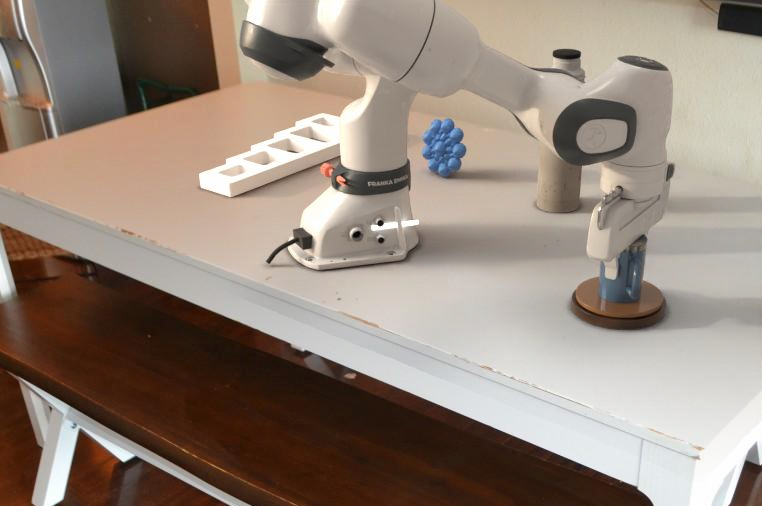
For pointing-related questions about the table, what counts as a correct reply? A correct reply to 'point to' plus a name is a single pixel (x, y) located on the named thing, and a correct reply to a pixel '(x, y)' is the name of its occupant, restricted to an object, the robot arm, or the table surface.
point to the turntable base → (615, 321)
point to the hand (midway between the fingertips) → (623, 267)
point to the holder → (277, 156)
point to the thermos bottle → (554, 174)
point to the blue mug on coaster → (622, 287)
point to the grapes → (443, 147)
